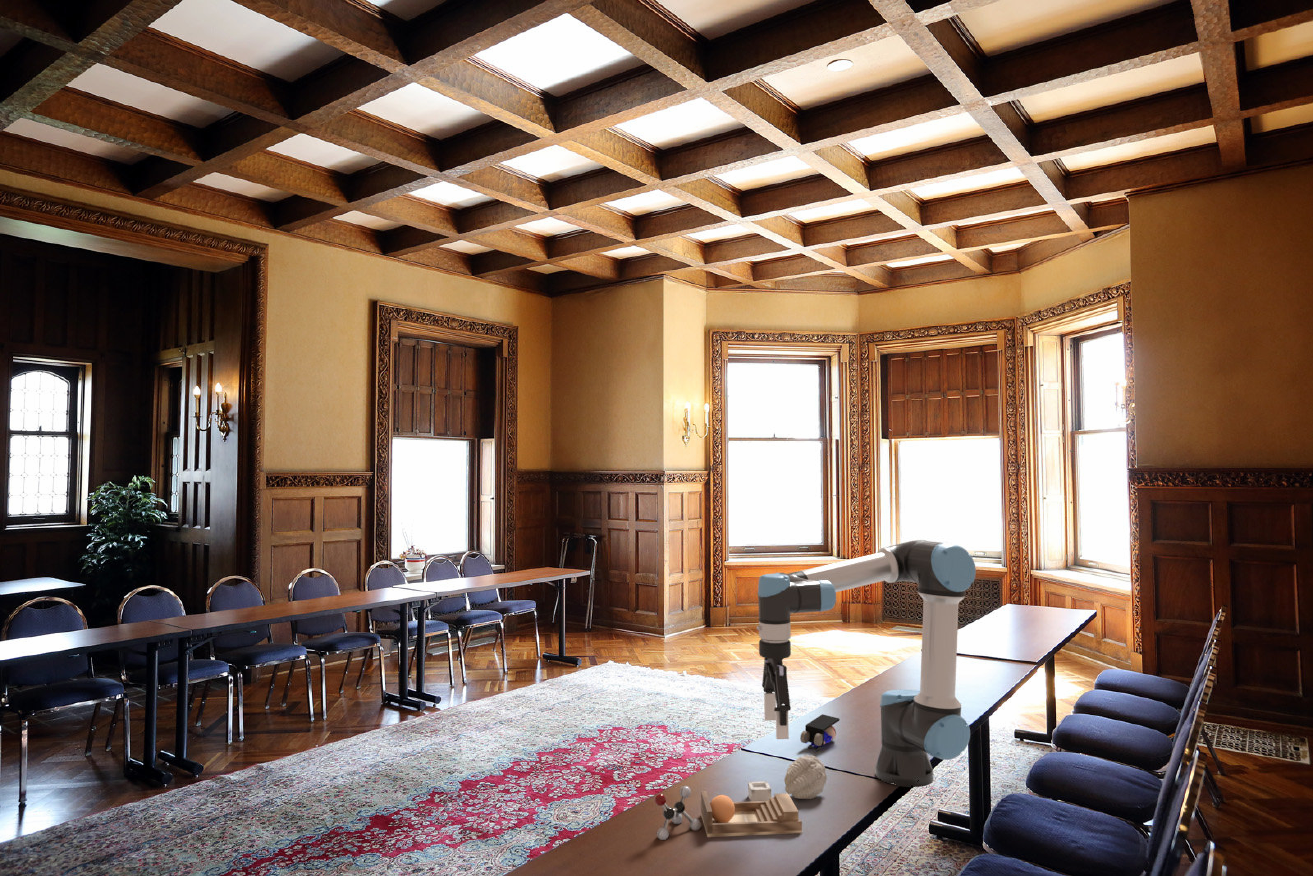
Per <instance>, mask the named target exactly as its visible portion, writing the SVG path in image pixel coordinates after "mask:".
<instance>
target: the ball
mask: <svg viewBox="0 0 1313 876" xmlns="http://www.w3.org/2000/svg"><path fill="white" fill-rule="evenodd" d="M733 802H734V801H733V800H732V799H731V798H730V797H729V796H728V795H725V794H720V795H719V794H718V795H715V797H713V798H712V800H711V801H710V806H711V809H712V818H713V819H714V820H715V821H717V822H720V823H725V822H728V821H730V820H731V819H732V817H733V816H734V813H735V806H734V803H733Z"/></svg>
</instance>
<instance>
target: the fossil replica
mask: <svg viewBox="0 0 1313 876" xmlns="http://www.w3.org/2000/svg"><path fill="white" fill-rule="evenodd" d="M827 777H828V776H827V773H826V767H825V765H824V763H823V762H822V761H821V760H820V759H819V758H818V757H817V756H815V755H807V754H804V755H803V756H799V757H798V758H796V759H795V760H794V761H793V762H791V764H790V765H789V767H788V768H787V769H786V774H785V776H784V780H783V781H784V784H785V787H784V791H785V793H788V794H789V795H790V794H791V796H793V797H794V798H795V799H804V800H809V799H810V800H812V799H814V798H816V797H817V796H818V795H820V794H821V793H822V792H823V791H824V787H825V785H826V783H827V781H828V778H827Z"/></svg>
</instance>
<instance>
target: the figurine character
mask: <svg viewBox="0 0 1313 876" xmlns="http://www.w3.org/2000/svg"><path fill="white" fill-rule="evenodd" d="M838 722H840V718H839V717H834V716H831V715H827V714H820V715H819V716H817V717H816V718H814V719H813V720H811V721H809V722H808V723H806V724H805V730H803V731H802V732H801V734H800V736H799V737H800V742H801V743H803V744H807V743H810V744H809V745H808V746H807V749H808V750H810V749H811V748H812V747H815V748H816V749H815V751H817V752H818V751H819V750H821V748H822V747H823V746H825V744H829V743H831V742H832V741H833V740H835V739H836V736H837V731H836V728H835V727H834V726H833V725H835V724H837V723H838Z"/></svg>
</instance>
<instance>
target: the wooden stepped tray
mask: <svg viewBox="0 0 1313 876" xmlns="http://www.w3.org/2000/svg"><path fill="white" fill-rule="evenodd" d="M710 803H711V801H710V799H709V797H708V792H707V790H700V815H701V819H702V823H703V826H704V830H705V833H706V837H707V838H718V837H721V838H722V837H737V836H738V837H739V836H741V837H742V836H759V835H760V836H761V835H763V836H765V835H783V834H784V835H785V834H786V835H787V834H803V822H802V820H801V819H799V810H798V808H797V806H796V805H795V803H794V801H793V800H792V798H791V796H790V794H788V793H787V792H785V793H782V792H781V793H774V796H771V797H770V801H733V803H734V806H735V813H734V816H733V817H732V819H731V820H730V821H728V822H725V823H720V822H717V821H715V820H714V819H713V818H712V809H711V806H710Z"/></svg>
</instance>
